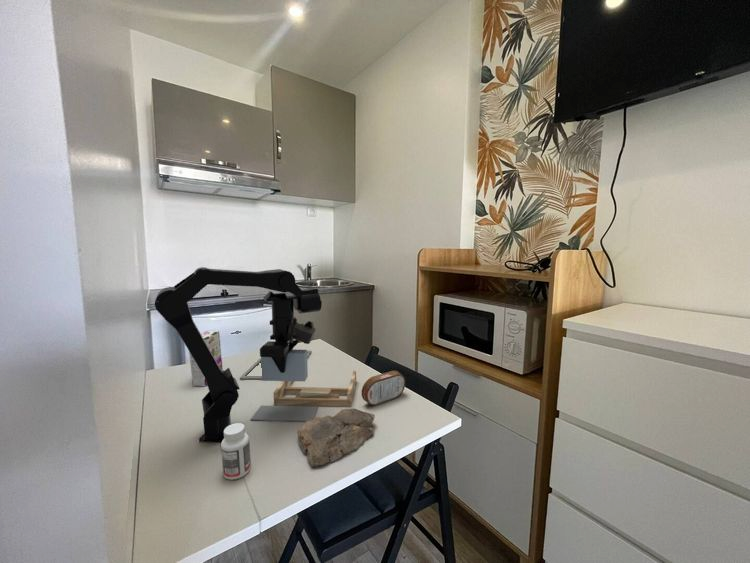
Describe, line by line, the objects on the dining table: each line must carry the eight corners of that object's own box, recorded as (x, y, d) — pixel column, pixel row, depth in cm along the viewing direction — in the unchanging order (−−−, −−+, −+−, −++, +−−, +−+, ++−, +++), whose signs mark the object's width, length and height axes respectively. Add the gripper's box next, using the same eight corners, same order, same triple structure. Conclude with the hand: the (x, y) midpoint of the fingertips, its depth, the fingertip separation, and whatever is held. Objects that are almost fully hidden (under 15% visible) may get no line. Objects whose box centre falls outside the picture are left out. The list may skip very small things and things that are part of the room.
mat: (311, 422, 81) (311, 420, 81) (250, 420, 82) (250, 419, 82) (317, 407, 88) (317, 406, 88) (261, 406, 89) (261, 405, 89)
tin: (400, 391, 98) (400, 367, 97) (406, 395, 95) (407, 370, 94) (360, 405, 90) (360, 378, 89) (366, 410, 87) (366, 382, 86)
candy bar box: (210, 372, 113) (206, 330, 111) (223, 372, 113) (220, 330, 111) (191, 386, 102) (187, 339, 100) (205, 387, 102) (202, 340, 99)
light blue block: (304, 381, 83) (304, 353, 82) (261, 380, 83) (260, 352, 82) (307, 376, 86) (307, 349, 85) (266, 375, 86) (265, 348, 85)
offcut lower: (337, 405, 91) (336, 399, 90) (294, 404, 91) (294, 398, 91) (338, 400, 94) (338, 394, 93) (297, 399, 94) (297, 393, 94)
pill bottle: (242, 458, 68) (239, 417, 67) (256, 468, 65) (253, 426, 63) (218, 473, 64) (214, 430, 62) (231, 485, 60) (228, 440, 59)
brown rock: (360, 412, 86) (291, 436, 76) (360, 396, 86) (291, 418, 75) (388, 440, 75) (312, 473, 64) (389, 422, 74) (312, 452, 63)
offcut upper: (329, 399, 90) (328, 393, 90) (300, 397, 91) (299, 392, 91) (331, 394, 93) (330, 389, 93) (302, 393, 94) (302, 388, 94)
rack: (350, 406, 89) (350, 393, 88) (274, 405, 90) (273, 392, 89) (356, 381, 105) (356, 370, 104) (291, 380, 106) (290, 369, 105)
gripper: (303, 325, 73) (304, 386, 75) (319, 308, 91) (320, 358, 93) (257, 324, 73) (260, 385, 75) (283, 308, 92) (284, 357, 94)
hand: (284, 370), depth 84 cm, fingers closed on light blue block, 3 cm apart
